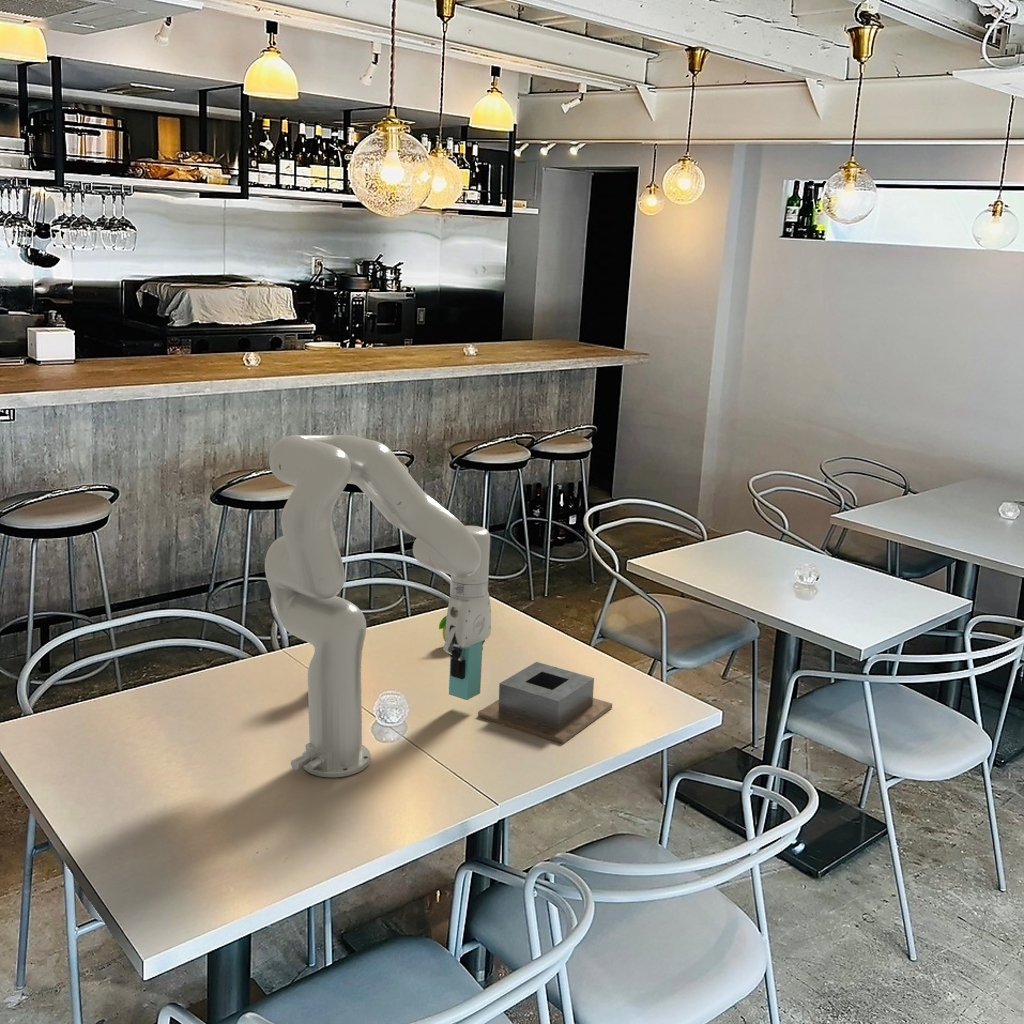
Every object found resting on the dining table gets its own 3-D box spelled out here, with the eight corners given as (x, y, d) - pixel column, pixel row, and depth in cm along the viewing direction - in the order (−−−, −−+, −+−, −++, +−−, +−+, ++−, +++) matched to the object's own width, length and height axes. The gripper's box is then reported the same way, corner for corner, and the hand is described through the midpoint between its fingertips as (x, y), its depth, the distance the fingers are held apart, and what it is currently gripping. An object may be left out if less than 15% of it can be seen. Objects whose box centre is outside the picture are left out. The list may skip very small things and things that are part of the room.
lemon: (470, 643, 253) (470, 603, 251) (466, 652, 247) (467, 612, 245) (442, 641, 254) (442, 602, 251) (438, 650, 248) (438, 610, 245)
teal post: (467, 700, 214) (469, 644, 211) (448, 694, 216) (451, 638, 214) (480, 693, 218) (482, 638, 215) (462, 687, 220) (464, 633, 217)
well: (562, 744, 204) (564, 710, 203) (478, 716, 215) (478, 684, 213) (612, 708, 220) (613, 676, 219) (531, 684, 231) (532, 654, 229)
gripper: (459, 601, 203) (455, 690, 207) (508, 582, 217) (503, 666, 221) (428, 593, 207) (425, 681, 211) (478, 575, 221) (474, 657, 225)
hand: (465, 672), depth 216 cm, fingers closed on teal post, 4 cm apart
